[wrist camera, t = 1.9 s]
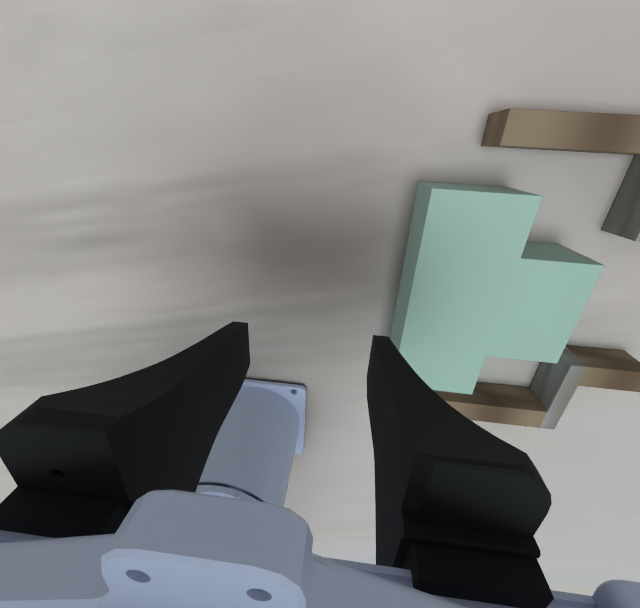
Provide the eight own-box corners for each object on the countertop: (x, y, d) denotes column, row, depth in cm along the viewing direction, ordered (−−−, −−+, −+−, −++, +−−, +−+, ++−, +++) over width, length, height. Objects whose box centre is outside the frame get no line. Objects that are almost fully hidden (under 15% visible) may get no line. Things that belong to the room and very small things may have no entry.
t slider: (387, 349, 24) (392, 385, 20) (418, 181, 18) (432, 188, 15) (510, 363, 23) (538, 402, 19) (579, 191, 18) (635, 202, 14)
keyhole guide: (418, 391, 25) (425, 414, 23) (489, 114, 16) (510, 108, 14) (589, 409, 24) (613, 436, 22) (756, 128, 16) (822, 124, 13)
